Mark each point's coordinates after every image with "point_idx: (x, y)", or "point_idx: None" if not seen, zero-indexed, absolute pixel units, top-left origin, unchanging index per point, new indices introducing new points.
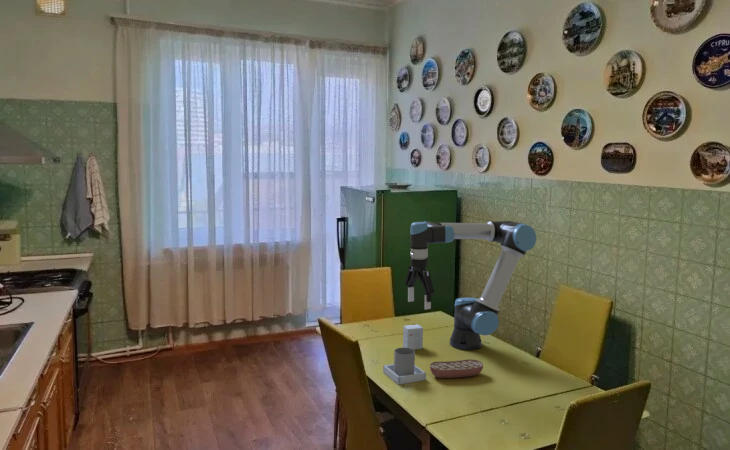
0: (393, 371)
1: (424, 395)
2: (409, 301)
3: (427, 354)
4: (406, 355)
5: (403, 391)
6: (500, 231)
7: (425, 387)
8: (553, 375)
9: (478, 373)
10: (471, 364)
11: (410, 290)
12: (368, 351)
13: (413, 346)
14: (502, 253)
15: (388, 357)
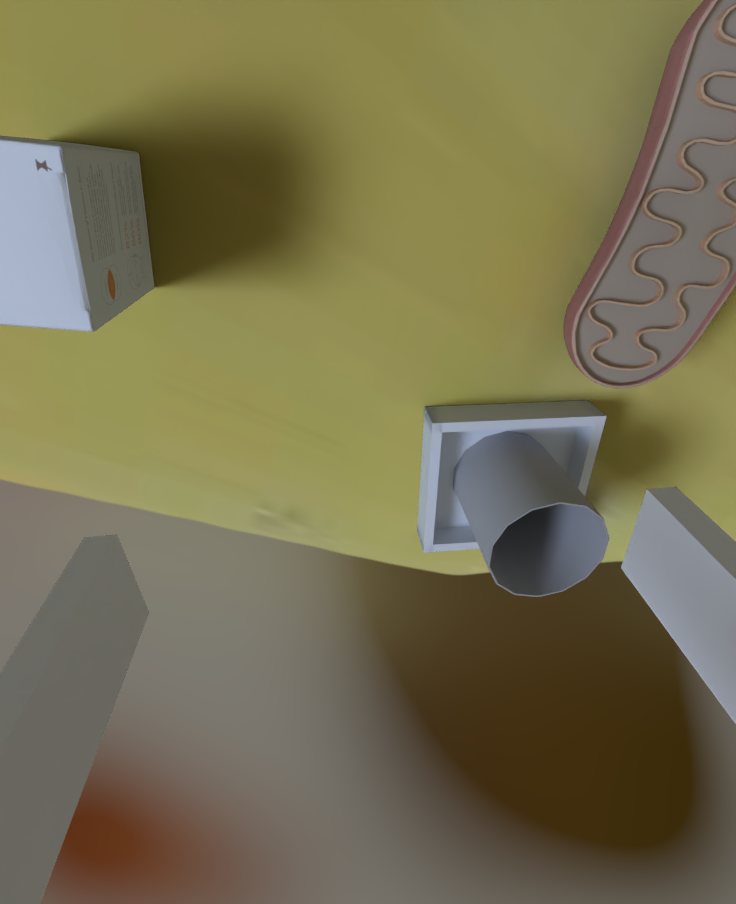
0: (448, 502)
1: (697, 473)
2: (142, 608)
3: (263, 182)
4: (596, 560)
5: (616, 526)
6: None
7: (646, 437)
8: None
9: None
10: None
11: (39, 832)
12: (128, 503)
13: (141, 242)
14: None
15: (245, 443)
